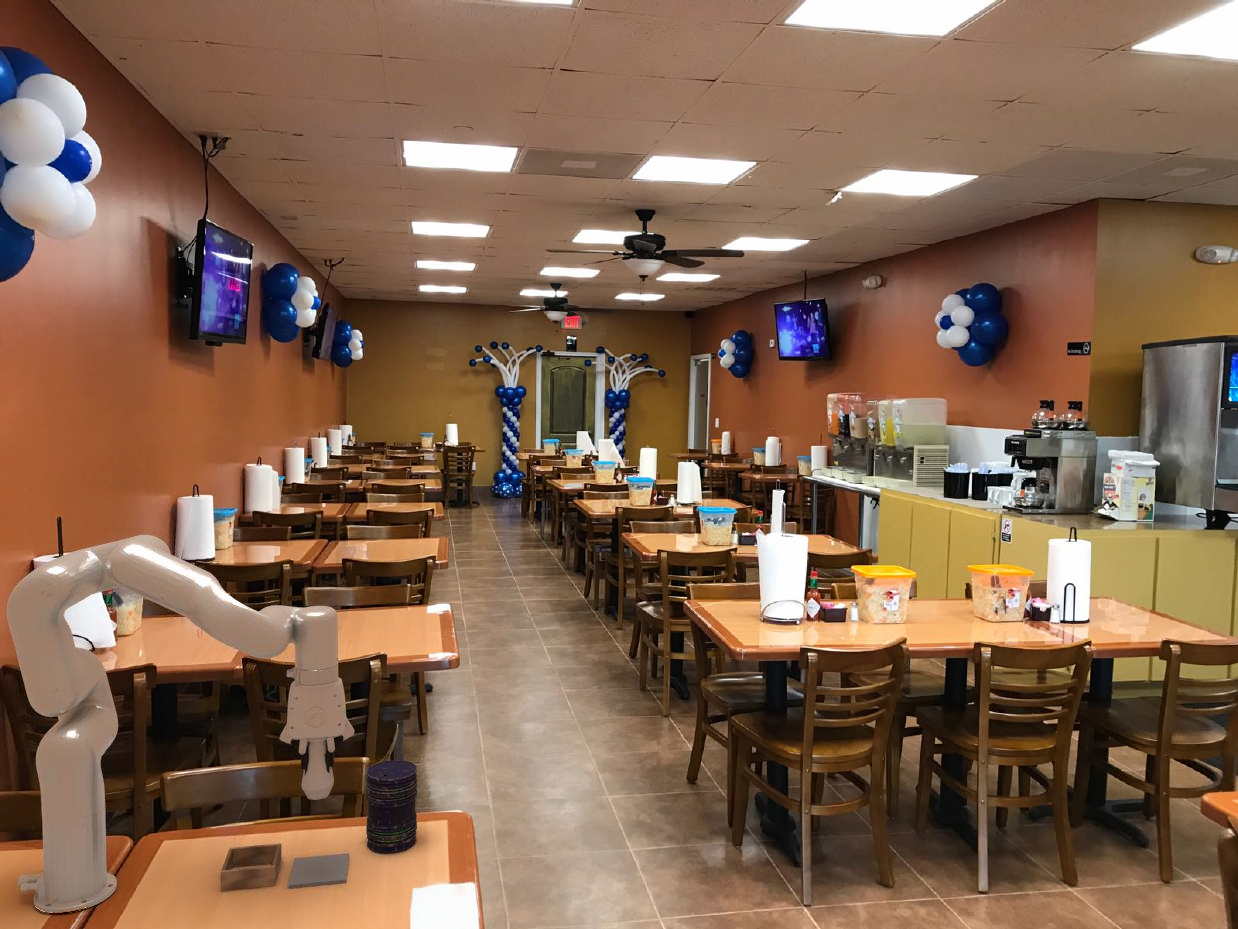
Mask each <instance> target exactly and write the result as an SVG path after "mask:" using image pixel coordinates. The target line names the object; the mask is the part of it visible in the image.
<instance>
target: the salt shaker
mask: <svg viewBox="0 0 1238 929" xmlns="http://www.w3.org/2000/svg"><path fill="white" fill-rule="evenodd" d="M307 741H308V743H307V746H308V754H309V763H308V770H307V772H306V775H305V769H303V774H302V778H301V789H302V790H303V792H304V793H305V796H306V797H307V799H308V800H315V801H319V800H321V799H325V798H327V797H329V795H330V793H331V791H332V789H333V787H334V783H335V778H334V777H335V776H334V773H333V767H330V773H328V772H327V769H326V763H325V753H326V752H327V746H328V745H327V738H319V739H307Z"/></svg>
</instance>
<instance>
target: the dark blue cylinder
mask: <svg viewBox="0 0 1238 929" xmlns="http://www.w3.org/2000/svg"><path fill="white" fill-rule="evenodd" d="M417 770H418V769H417V765H416V764H415V763H413V762H411V761H408V760H400V759H398V760H397V759H393V760H386V761H381V762H377V763H375V764H372V765H371V766H370V767H368V768H367V770H366V784H365V786H366V795H365V796H366V800H367V817H366V827H365V830H366V831H365V833H366V847H368V848H367V849H368V850H369V851H370V852H371V853H374V852H375V853H374V854H377V853H378V854H377V855H396V853H397V854H400V853H403V852H406V851H409V850H410V849H413V847H414V846H415V845H416V843H417V829H418V822H417V818H418V817H417V812H416V798H417V794H418V790H417V789H418V779H417V776H418V775H417Z"/></svg>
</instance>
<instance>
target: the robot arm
mask: <svg viewBox="0 0 1238 929" xmlns="http://www.w3.org/2000/svg"><path fill="white" fill-rule="evenodd" d="M118 588H122V589H124V590H126V591H128V592H130V593H133V594H135V595H138V596H139V597H142V598H144V599H146V600H148V601H150V602H153V603H155V604H158V605H159V606H162V607H164V608H165V609H168V610H170V611H172V612H175V613H177V614H179V615H181V616H183V617H185V618H186V619H187V620H189V621H190V622H191V624H193V625H194V626H196V627H197V628H199V629H200V630H202V631H203V632H204V633H206V634H207V635H208V636H210V637H212V638H214V640H217V641H218V642H220V643H222V644H224V645H225V646H227V647H230V648H232V649H234V650H237V651H239V652H241V653H244V654H246V655H248V656H251V657H254V658H257V659H262V660H263V659H265V660H266V659H273V658H275V657H276V658H277V657H278V656H280V655H282V653H283V652H285V651H286V649H287V648H288V646H289V644H293V645H294V656H295V657H294V660H295V661H294V666H293V668H291V669H287V670H286V677H287V678H292V679H293V680H294V681H292V682H291V684H290V687H289V692H288V698H287V699H288V701H287V717H286V719H287V721H286V722H287V723H286V724H285V726H284V728H283V730H282V731H281V733H280V735H279V740H280V741H281V742H283V743H286V744H290V745H291V746H292V747H293V748H294V749H295V750H296V751H298V753H299V754H300V769H301V770H304V769H305V775H306V772H307V770H308V763H309V754H308V743H309V742H308V741H307V739H319V738H327V745H328V746H327V752H326V753H325V763H326V769H327V772H328V773H330V767H332V768H334V767H335V750H336V749H337V748H338V747H339V746H340V745H341V743H343V742H344V741H346V740H348V739H349V738H351V737H353V736H354V735H355V729H354V727H353V725H352V724H351V723H350V721H349V719H348V717H347V711H346V710H347V707H346V695H345V689H344V684H343V679H342V678H341V677H339V630H338V629H339V626H338V624H339V623H338V622H339V621H338V620H339V618H338V612H337V610H336V609H335V608H333V607H331V606H327V605H311V606H307V607H297V606H287V605H279V604H278V605H277V604H275V605H274V604H273V605H270V606H266V607H264V608H262V609H260V610H259V611H257V610H256V609H253V608H251V607H249V606H247V605H246V604H243V603H241V602H240V601H238V600H237V599H235V598H234V597H233V596H231V595H230V594H228V593H227V591H225V589H224V588H223V587H222V585H221V583H220V581H219V580H218V579H217V578H216V576H214V575H213V574H212V573H211V572H210V571H207V570H205V569H203V568H201V567H199V566H197V565H195V564H192V563H190V562H188V561H186V560H183V559H182V558H179V557H178V556H175V555H173V554H172V553H171V550H170V548H169V546H168V544H167V543H166V542H165V541H163V540H162V539H161V538H159V537H157V536H155V535H150V534H139V535H135V536H132V537H128V538H124V539H120V540H116V541H112V542H108V543H103V544H98V545H94V546H90V547H86V548H81V549H78V550H74V551H70V552H68V553H66V554H63V555H62V556H61V555H60V556H59V557H57V558H54V559H51V560H50V561H48V562H45V563H44V564H42V565H40V566H38V567H37V568H35V569H34V570H32V571H31V572H30V573H28V574H27V575H26V576H25V577H23V578H22V579H21V580H20V581H19V582H17V584H16V585H15V586H14V588H13V589H12V591H11V593H10V595H9V597H8V600H7V603H6V604H7V605H6V620H7V624H8V629H9V631H10V634H11V637H12V641H13V645H14V649H15V653H16V657H17V662H18V666H19V668H20V669H19V670H20V672H21V676H22V680H23V683H24V684H23V685H24V688H25V692H26V696H27V699H28V702H29V704H30V706H31V707H32V709H33V710H34V711H35V712H36V713H38V714H39V715H41V716H44V717H49V718H53V717H54V718H55V717H57V718H58V721H57V722H56V723H54V725H53V726H52V727H51V728H50V729H49V730H48V731H47V732H46V733H45V734H44V736H43V737H42V739H41V740H40V742H39V745H38V746H37V749H36V753H35V754H36V755H35V767H36V772H37V777H38V783H39V787H40V802H41V817H42V818H41V820H42V822H41V823H42V852H43V853H42V854H43V855H42V857H43V859H42V860H43V871H40V872H39V873H36V874H30V873H29V874H22V875H18V876H19V877H18V879H17V887H18V888H19V892H20V893H28V892H35V895H34V896H33V906H34V905H35V906H36V907H37V908H39V909H40V910H43V911H45V912H50V913H51V912H61V911H70V910H76V909H79V908H81V907H88V908H87V909H89V908H92V907H93V906H96V905H98V904H100V903H102V902H104V901H105V900H107V899H109V897H111V896H112V895H113V894H114V892H115V891H116V890H117V887H118V886H117V884H118V879H117V876H115V875H114V874H112V873H110V872H107V832H106V831H107V830H106V826H107V825H106V799H105V798H106V794H105V790H106V789H105V783H104V778H103V772H102V768H101V766H102V765H101V760H102V756H103V755H104V754H105V753H106V751H107V750H108V748H109V747H110V746H111V745H112V744H113V742H114V741H115V739H116V737H117V733H118V731H119V730H118V729H119V720H118V719H119V718H118V713H117V711H116V710H117V709H116V706H115V703H114V699H113V695H112V691H111V687H110V683H109V679H108V675H107V672H106V668H105V667H104V664H103V662H102V661H101V659H100V658H99V657H98V656H97V654H95V653H94V652H92V651H90V650H89V649H86V648H84V647H78V646H77V647H76V644H75V640H74V635H73V632H72V629H71V627H70V624H69V623H68V620H66V618H65V612H66V610H68V609H70V608H71V607H73V606H74V605H77V604H78V603H80V602H82V601H84V600H85V599H86V598H88V597H91V596H92V595H95V594H98V593H102V592H105V591H109V590H114V589H118Z"/></svg>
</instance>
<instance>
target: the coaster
mask: <svg viewBox="0 0 1238 929" xmlns="http://www.w3.org/2000/svg"><path fill="white" fill-rule="evenodd" d="M349 858H350V853H349V852H348V853H336V854H325V855H316V856H315V855H314V856H305V857H304V856H303V857H295V858H293V863H292V868H291V871H290V877H289V879H288V880H289V881H288V885H287V888H288V889H297V888H304V887H303V886H308V887H317V886H327V885H328V886H329V885H337V883H338V884H346V883H347V877H348V867H349V861H348V860H350V859H349Z"/></svg>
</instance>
